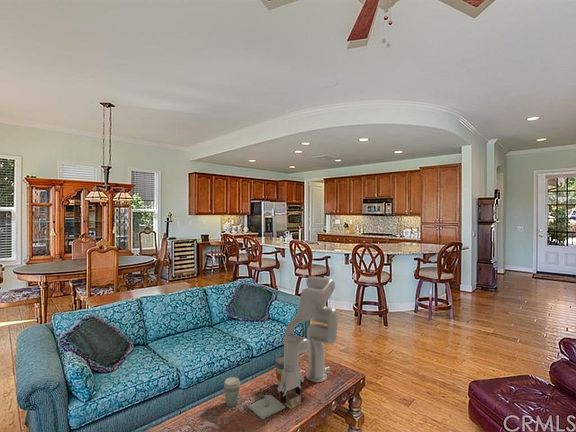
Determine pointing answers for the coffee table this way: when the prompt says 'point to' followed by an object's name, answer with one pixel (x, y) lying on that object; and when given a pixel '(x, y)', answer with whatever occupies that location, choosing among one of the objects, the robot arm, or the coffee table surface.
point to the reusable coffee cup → (279, 367)
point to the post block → (266, 406)
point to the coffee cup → (232, 391)
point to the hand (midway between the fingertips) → (290, 398)
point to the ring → (292, 399)
